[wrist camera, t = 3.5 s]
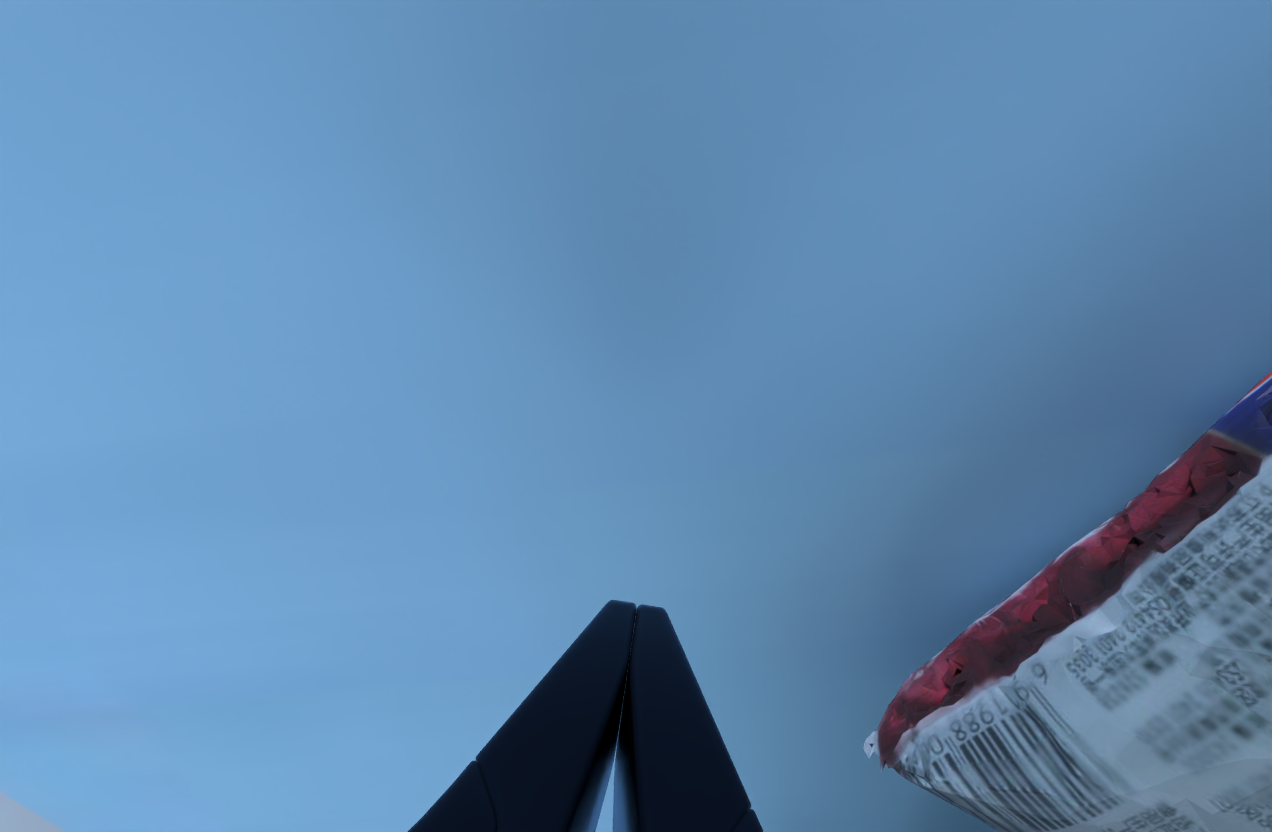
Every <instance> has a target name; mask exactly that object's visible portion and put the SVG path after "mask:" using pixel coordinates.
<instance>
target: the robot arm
mask: <svg viewBox="0 0 1272 832" xmlns="http://www.w3.org/2000/svg"><path fill="white" fill-rule="evenodd" d="M636 609H637V611H636ZM635 616H636V618H635ZM634 623H635V625H634ZM633 630H634V632H633ZM632 637H633V638H632ZM631 644H632V645H631ZM630 651H631V652H630ZM629 658H630V659H629ZM628 665H629V666H628ZM627 671H628V672H627ZM626 678H627V679H626ZM625 685H626V686H625ZM624 692H625V693H624ZM623 698H624V700H623ZM622 705H623V707H622ZM621 712H622V714H621ZM620 719H621V721H620ZM619 725H620V728H619ZM618 732H619V734H618ZM617 739H618V741H617ZM616 745H617V749H616ZM615 751H616V758H615V774H614V804H613V832H763V830H762V827H761V825H760V823H759V821H758V818H757V816H756V814H755V812H754V810H752V809H750V808H751V803H750V801H749V799H748V796H747V794H746V792H745V789H744V787H743V785H742V783H741V780H740V778H739V776H738V774H737V771H736V769H735V767H734V764H733V762H732V760H731V758H730V755H729V753H728V751H727V748H726V746H725V744H724V742H723V739H722V737H721V735H720V733H719V730H718V728H717V726H716V723H715V721H714V719H713V717H712V714H711V712H710V710H709V708H708V705H707V703H706V701H705V698H704V696H703V694H702V692H701V689H700V687H699V685H698V683H697V680H696V678H695V676H694V673H693V671H692V669H691V667H690V664H689V662H688V660H687V658H686V655H685V653H684V651H683V648H682V646H681V644H680V642H679V639H678V637H677V635H676V632H675V630H674V628H673V626H672V623H671V621H670V619H669V617H668V614H667V612H666V611H665V609H663V608H661V607H655V606H648V605H639V606H638V607H637V608H636V605H635V604H634V603H630V602H624V601H617V600H611V601H609V602H608V603H607V604H606V605H605V606H604V607H603V608H602V610H601V611H600V612H599V613H598V614H597V615H596V617H595V618H594V619H593V620H592V621H591V623H590V624H589V625H588V626H587V627H586V628H585V630H584V631H583V632H582V633H581V634H580V635H579V637H578V638H577V639H576V640H575V641H574V642H573V644H572V645H571V646H570V647H569V648H568V649H567V651H566V652H565V653H564V654H563V655H562V656H561V658H560V659H559V660H558V661H557V662H556V664H555V665H554V666H553V667H552V668H551V669H550V671H549V672H548V673H547V674H546V675H545V676H544V678H543V679H542V680H541V681H540V682H539V683H538V685H537V686H536V687H535V688H534V689H533V690H532V692H531V693H530V694H529V695H528V696H527V697H526V699H525V700H524V701H523V702H522V703H521V705H520V706H519V707H518V708H517V709H516V710H515V712H514V713H513V714H512V715H511V716H510V717H509V719H508V720H507V721H506V722H505V723H504V724H503V726H502V727H501V728H500V729H499V730H498V731H497V733H496V734H495V735H494V736H493V737H492V738H491V740H490V741H489V742H488V743H487V744H486V746H485V747H484V748H483V749H482V750H481V751H480V753H479V754H478V755H477V756H476V761H472V762H471V763H470V764H469V765H468V766H467V767H466V769H465V770H464V771H463V772H462V773H461V774H460V776H459V777H458V778H457V779H456V780H455V781H454V783H453V784H452V785H451V786H450V787H449V788H448V789H447V790H446V792H445V793H444V794H443V795H442V796H441V797H440V798H439V799H438V800H437V801H436V803H435V804H434V805H433V806H432V807H431V808H430V809H429V810H428V811H427V812H426V814H425V815H424V816H423V817H422V818H421V819H420V820H419V821H418V822H417V823H416V824H415V825H414V826H413V827H412V828H411V829H410V830H409V831H408V832H595V831H596V827H597V823H598V819H599V816H600V812H601V808H602V804H603V801H604V797H605V793H606V790H607V786H608V782H609V778H610V774H611V770H612V766H613V762H614V756H615Z"/></svg>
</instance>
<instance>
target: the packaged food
mask: <svg viewBox="0 0 1272 832" xmlns="http://www.w3.org/2000/svg"><path fill="white" fill-rule="evenodd" d="M863 750H864V751H865V753H866V754H867V756H868V758H870V757H871V755H872V753H873V752H875V753H876V754H877V755H878V757H879V758H880V764H881V772H882V770H883V768H884V766H885V764H886V763H887V766H888V768H894V769H895V770H896V771H897V772H898V773H899V774H900V775H901V776H903V777H904V778H906V779H907V780H909V781H911V782H913V783H914V784H916V785H918V786H920V787H922V788H924V789H925V790H927V791H929V792H931V793H933V794H934V795H936V796H938V797H940V798H942V799H943V800H945V801H947V802H949V803H951V804H953V805H954V806H956V807H958V808H960V809H962V810H964V811H966V812H967V813H969V814H971V815H973V816H975V817H977V818H979V819H980V820H981V821H983V822H984V823H986V824H988V825H989V826H991V827H993V828H995V829H996V830H998V831H1000V832H1272V371H1271V372H1270V373H1269V374H1268V375H1267V376H1265V377H1264V378H1263V379H1262V380H1261V381H1260V382H1259V383H1258V384H1257V385H1256V386H1255V387H1253V388H1252V389H1251V390H1250V391H1249V392H1248V393H1247V394H1246V395H1245V396H1244V397H1243V398H1242V399H1241V400H1240V401H1239V402H1238V403H1236V404H1235V405H1234V406H1233V407H1232V408H1231V409H1230V410H1229V411H1228V412H1227V413H1226V414H1225V415H1224V416H1223V417H1222V418H1220V419H1219V420H1218V421H1217V422H1216V423H1215V424H1214V425H1213V426H1212V427H1211V428H1210V429H1209V430H1208V431H1207V432H1206V433H1205V434H1204V435H1202V436H1201V437H1200V438H1199V439H1198V440H1197V441H1196V442H1195V443H1194V444H1193V445H1192V446H1191V447H1190V448H1189V449H1188V450H1187V451H1186V452H1185V453H1183V454H1182V455H1181V456H1180V457H1179V458H1177V459H1176V460H1175V461H1174V462H1173V463H1171V464H1170V465H1169V466H1168V467H1167V468H1165V469H1164V470H1163V471H1162V472H1160V473H1159V474H1158V475H1157V476H1156V477H1155V479H1154V480H1153V481H1152V482H1151V484H1150V485H1149V486H1148V487H1147V489H1146V490H1145V491H1144V492H1143V493H1142V494H1140V495H1139V496H1137V497H1136V498H1134V499H1133V500H1131V501H1130V502H1129V503H1127V504H1126V506H1125V508H1124V509H1123V511H1121V512H1120V513H1118V514H1116V515H1115V516H1113V517H1112V518H1110V519H1109V520H1107V521H1106V522H1104V523H1103V524H1101V525H1100V526H1099V527H1097V528H1096V529H1094V530H1093V531H1091V532H1090V533H1088V534H1087V535H1086V536H1084V537H1083V538H1081V539H1080V540H1079V541H1077V542H1076V543H1074V544H1073V545H1072V546H1070V547H1069V548H1068V549H1067V550H1065V551H1064V552H1063V553H1062V554H1060V555H1059V556H1058V557H1057V558H1055V559H1054V560H1053V561H1052V562H1050V563H1049V564H1048V565H1047V566H1045V567H1044V568H1043V569H1042V570H1041V571H1040V572H1038V573H1037V574H1036V575H1035V576H1034V577H1033V578H1032V579H1030V580H1029V581H1028V582H1027V583H1025V584H1024V585H1023V586H1021V587H1020V588H1019V589H1018V590H1016V591H1015V592H1014V593H1013V594H1011V595H1010V596H1009V597H1007V598H1006V599H1005V600H1004V601H1002V602H1001V603H1000V604H998V605H997V606H995V607H994V608H992V609H991V610H989V611H988V612H986V613H985V614H984V615H982V616H981V617H980V618H979V619H977V620H976V621H975V622H974V623H973V624H971V625H970V626H969V627H968V628H967V629H966V630H965V631H964V632H962V633H961V634H960V635H959V636H958V637H957V638H956V639H955V640H954V641H953V642H952V643H951V644H949V645H948V646H947V647H945V648H944V649H943V650H942V651H940V652H939V653H938V654H937V655H935V656H934V657H933V658H932V659H931V660H930V661H928V662H927V663H926V664H925V665H923V666H922V667H920V668H919V669H917V670H916V671H914V672H913V673H912V674H911V675H910V676H909V677H908V679H907V680H906V681H905V682H904V683H903V684H902V686H901V688H900V690H899V692H898V693H897V695H896V697H895V698H894V699H893V700H892V702H891V703H890V704H889V706H888V708H887V710H886V712H885V714H884V717H883V719H882V721H881V722H880V724H879V726H878V728H877V729H876V730H875V732H872V733H871V734H870V736H869V737H867V739H866V740H865V742H864V748H863Z"/></svg>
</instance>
